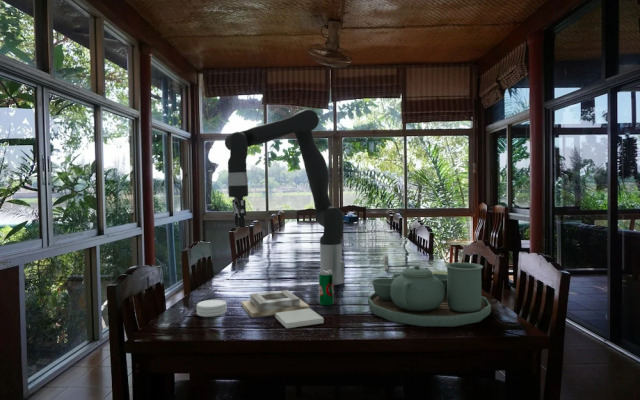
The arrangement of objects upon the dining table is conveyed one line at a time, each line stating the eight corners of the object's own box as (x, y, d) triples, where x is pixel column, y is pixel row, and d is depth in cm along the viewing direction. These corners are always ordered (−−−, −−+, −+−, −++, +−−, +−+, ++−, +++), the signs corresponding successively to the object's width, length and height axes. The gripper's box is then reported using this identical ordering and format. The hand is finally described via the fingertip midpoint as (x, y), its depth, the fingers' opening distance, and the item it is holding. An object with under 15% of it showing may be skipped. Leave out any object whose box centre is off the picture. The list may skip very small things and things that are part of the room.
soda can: (318, 302, 159) (318, 269, 158) (332, 302, 159) (332, 269, 159) (320, 306, 154) (319, 272, 153) (334, 306, 154) (333, 272, 154)
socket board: (294, 299, 164) (294, 288, 164) (309, 310, 150) (309, 298, 149) (241, 305, 157) (241, 294, 157) (251, 317, 142) (251, 305, 142)
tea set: (479, 296, 164) (478, 252, 164) (500, 332, 125) (500, 274, 125) (372, 293, 172) (372, 251, 172) (361, 325, 133) (360, 271, 133)
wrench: (386, 267, 239) (388, 271, 210) (382, 267, 240) (384, 271, 210) (386, 252, 240) (388, 254, 210) (382, 252, 240) (384, 254, 211)
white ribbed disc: (193, 311, 151) (193, 301, 151) (221, 307, 156) (221, 297, 156) (200, 319, 142) (200, 308, 142) (230, 314, 147) (230, 304, 147)
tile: (309, 312, 146) (309, 308, 146) (323, 322, 135) (323, 318, 135) (275, 317, 142) (275, 312, 142) (286, 328, 131) (286, 323, 131)
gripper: (251, 184, 164) (253, 227, 164) (244, 184, 177) (245, 224, 178) (231, 184, 161) (233, 228, 162) (225, 185, 174) (227, 225, 175)
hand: (239, 226), depth 170 cm, fingers open, 8 cm apart
